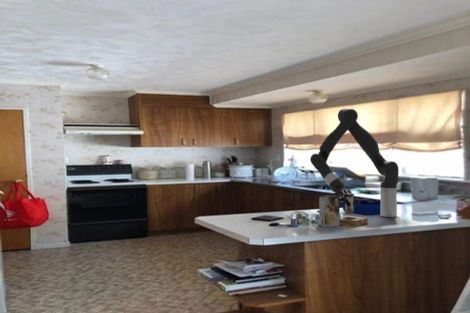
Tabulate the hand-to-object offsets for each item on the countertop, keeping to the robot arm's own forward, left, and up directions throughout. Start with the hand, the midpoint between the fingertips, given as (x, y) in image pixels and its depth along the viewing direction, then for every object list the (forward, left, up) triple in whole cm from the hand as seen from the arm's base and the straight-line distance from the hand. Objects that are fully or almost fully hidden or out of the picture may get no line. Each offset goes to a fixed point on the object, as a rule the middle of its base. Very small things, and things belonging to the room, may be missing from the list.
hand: (352, 205), depth 250 cm
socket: (0, -2, -10) cm, 10 cm away
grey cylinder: (0, -2, -5) cm, 5 cm away
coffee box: (+13, -6, -10) cm, 18 cm away
